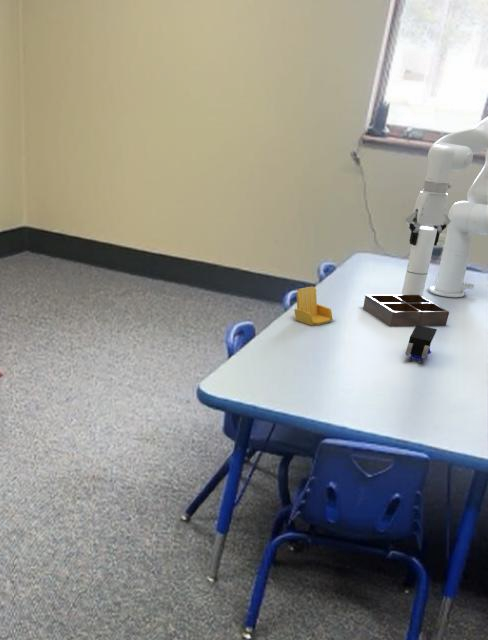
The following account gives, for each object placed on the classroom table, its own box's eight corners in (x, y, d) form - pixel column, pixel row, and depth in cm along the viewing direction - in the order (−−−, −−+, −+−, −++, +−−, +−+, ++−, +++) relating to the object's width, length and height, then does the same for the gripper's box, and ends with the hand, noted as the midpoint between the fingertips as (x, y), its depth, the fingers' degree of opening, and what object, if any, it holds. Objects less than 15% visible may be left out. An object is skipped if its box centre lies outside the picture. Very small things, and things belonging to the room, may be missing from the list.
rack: (415, 308, 277) (418, 294, 275) (445, 325, 261) (449, 311, 259) (362, 308, 273) (365, 294, 270) (390, 326, 256) (393, 311, 254)
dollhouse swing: (312, 326, 250) (317, 296, 245) (290, 318, 256) (294, 289, 251) (334, 321, 257) (339, 292, 252) (311, 313, 262) (316, 285, 257)
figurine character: (425, 371, 225) (432, 350, 236) (431, 345, 221) (438, 326, 232) (401, 367, 227) (409, 346, 238) (406, 341, 223) (415, 322, 234)
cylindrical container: (418, 301, 285) (435, 227, 272) (422, 306, 279) (439, 231, 266) (398, 299, 286) (414, 225, 272) (401, 305, 280) (417, 229, 266)
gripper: (452, 187, 268) (440, 242, 277) (406, 185, 264) (394, 241, 273) (464, 190, 262) (451, 247, 271) (417, 188, 257) (405, 246, 267)
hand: (423, 244), depth 272 cm, fingers closed on cylindrical container, 7 cm apart
